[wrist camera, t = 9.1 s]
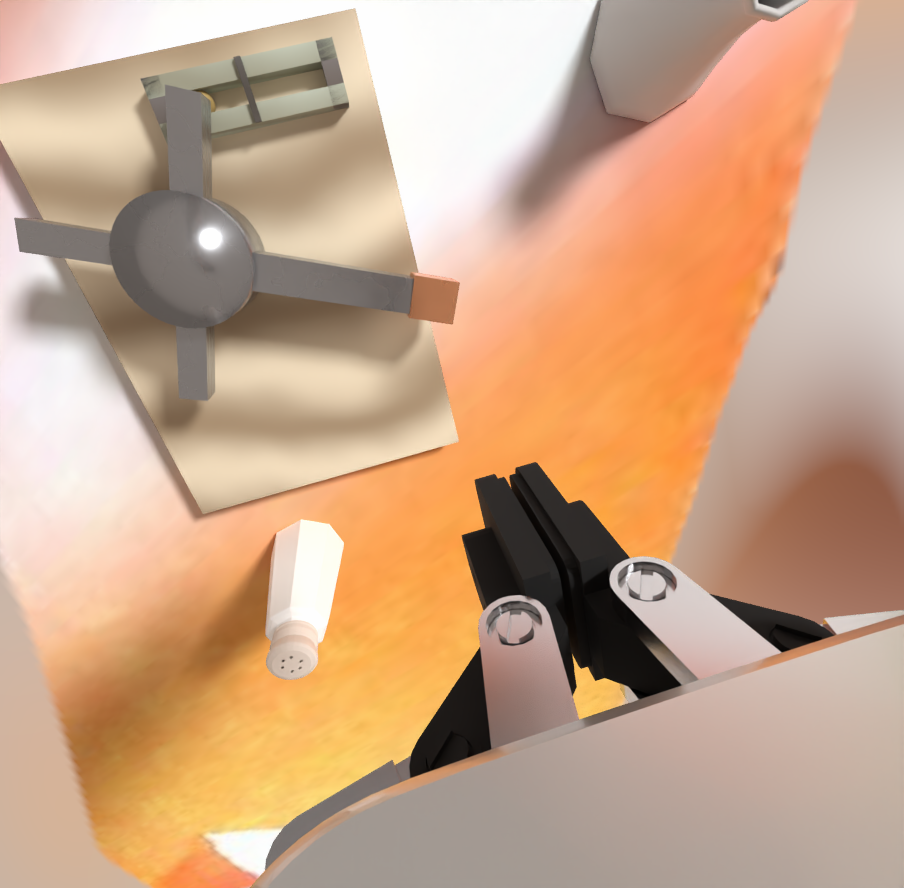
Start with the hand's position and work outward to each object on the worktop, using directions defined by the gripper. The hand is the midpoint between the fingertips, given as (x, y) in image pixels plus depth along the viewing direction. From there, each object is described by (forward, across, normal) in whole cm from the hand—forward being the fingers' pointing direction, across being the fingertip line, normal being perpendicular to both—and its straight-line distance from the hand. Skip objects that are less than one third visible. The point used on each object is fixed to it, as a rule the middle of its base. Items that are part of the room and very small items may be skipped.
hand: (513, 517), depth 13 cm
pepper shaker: (+22, +12, +13) cm, 28 cm away
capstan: (+20, +7, -7) cm, 22 cm away
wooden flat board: (+22, +8, -5) cm, 24 cm away
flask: (+22, -17, -13) cm, 31 cm away
